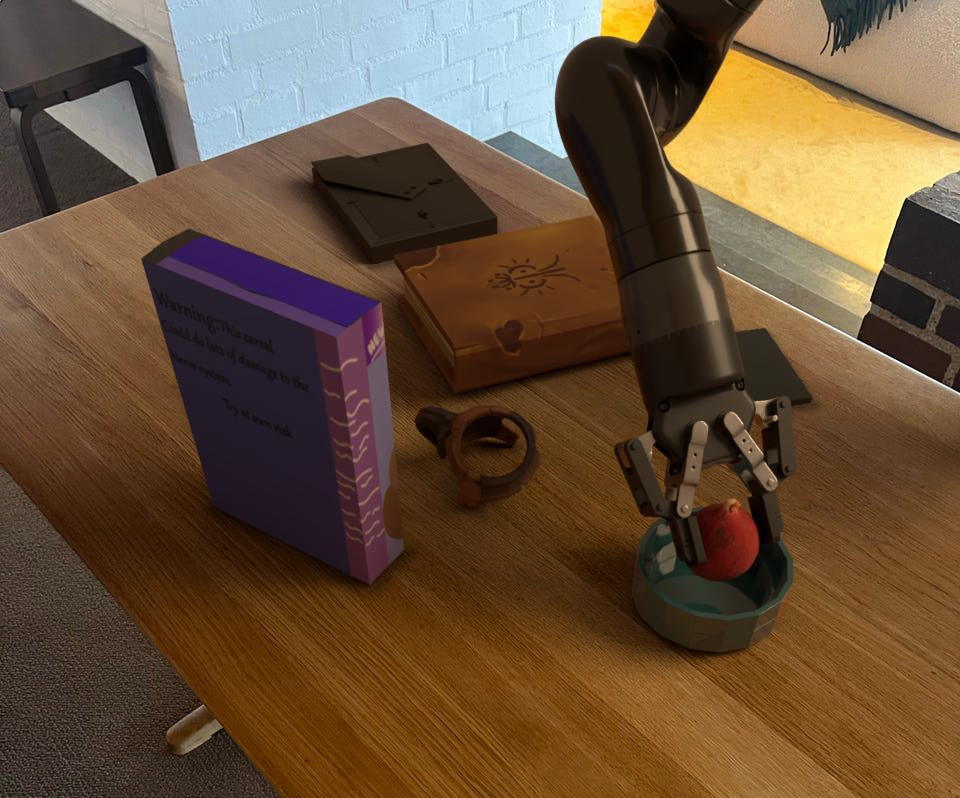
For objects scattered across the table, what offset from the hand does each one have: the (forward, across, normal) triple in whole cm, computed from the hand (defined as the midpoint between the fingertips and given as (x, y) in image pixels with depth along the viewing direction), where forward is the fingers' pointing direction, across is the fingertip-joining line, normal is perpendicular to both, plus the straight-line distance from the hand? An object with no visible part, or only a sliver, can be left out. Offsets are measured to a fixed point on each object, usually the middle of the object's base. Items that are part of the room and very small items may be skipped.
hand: (733, 553), depth 75 cm
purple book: (-11, -28, +20) cm, 36 cm away
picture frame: (-45, -2, +55) cm, 71 cm away
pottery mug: (-11, -12, +21) cm, 27 cm away
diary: (-25, +2, +34) cm, 42 cm away
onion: (+2, 0, +4) cm, 5 cm away
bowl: (+4, 0, +6) cm, 7 cm away
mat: (-14, +16, +24) cm, 32 cm away
